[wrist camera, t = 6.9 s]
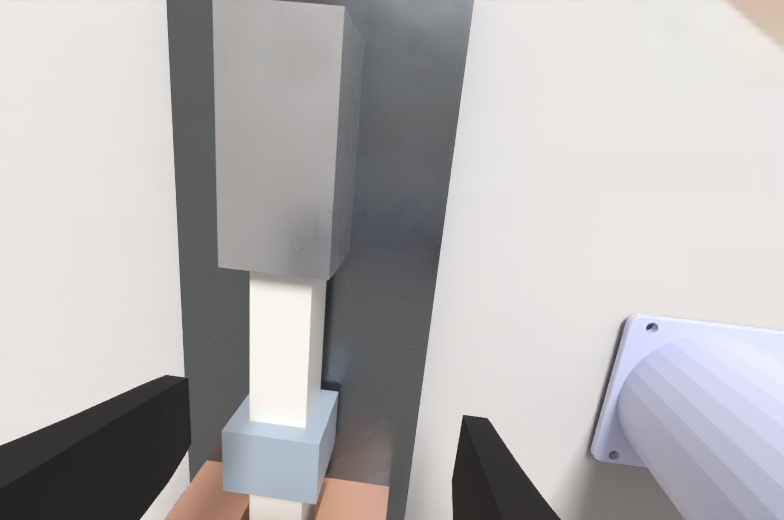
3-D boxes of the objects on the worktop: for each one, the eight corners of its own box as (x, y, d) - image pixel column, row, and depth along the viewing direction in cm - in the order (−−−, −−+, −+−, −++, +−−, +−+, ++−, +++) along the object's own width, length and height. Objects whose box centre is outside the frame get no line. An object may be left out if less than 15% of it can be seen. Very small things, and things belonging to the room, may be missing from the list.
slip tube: (350, 219, 17) (331, 235, 13) (329, 513, 21) (311, 584, 18) (259, 209, 17) (217, 222, 13) (257, 502, 21) (224, 570, 18)
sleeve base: (471, 3, 16) (493, -65, 11) (399, 543, 23) (393, 647, 18) (180, -20, 16) (76, -95, 11) (201, 513, 24) (144, 605, 19)
